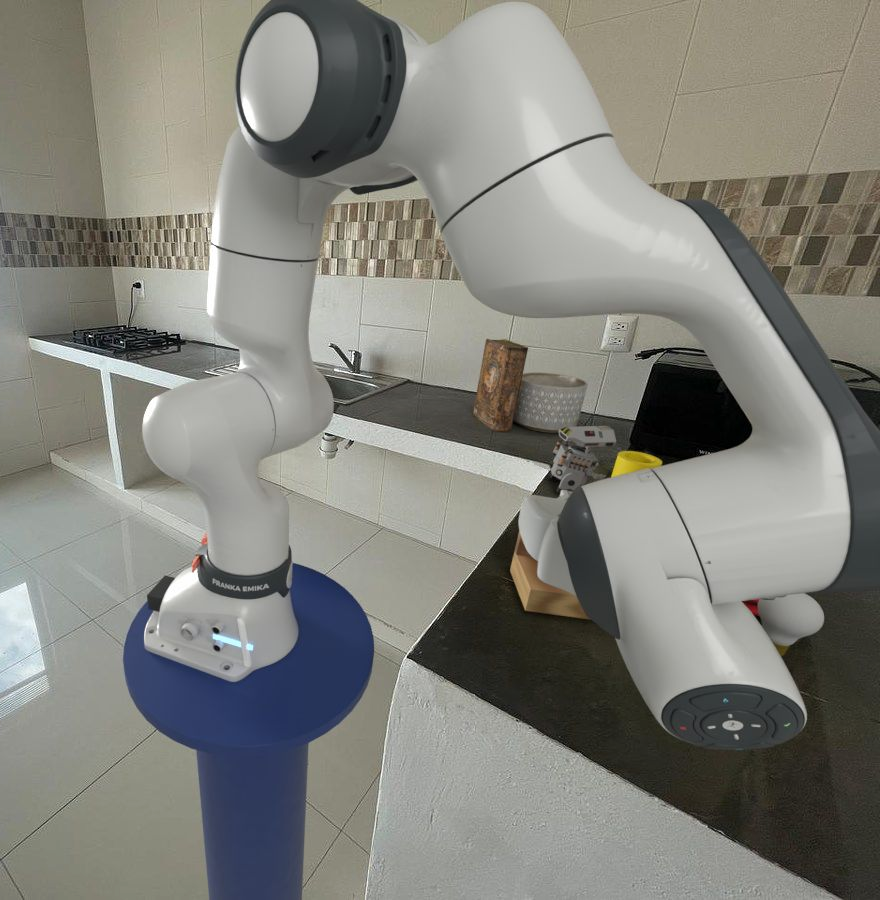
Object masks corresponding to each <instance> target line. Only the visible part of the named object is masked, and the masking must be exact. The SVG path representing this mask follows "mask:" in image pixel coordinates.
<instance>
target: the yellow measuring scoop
mask: <svg viewBox="0 0 880 900" xmlns="http://www.w3.org/2000/svg"><path fill="white" fill-rule="evenodd" d="M660 466H663V460H662V459H660V458H659V457H656V456H654V455H652V454H649V453H646V452H641V451H640V452H639V451H634V450H621V451H619V452H617V457H616V459H615V462H614V466H613V470H612V473H611V476H610V478H611V477H615V476H618V475H622V474H626V473H630V472H634V471H639V470H643V469H647V468H649V469H652V468H656V467H660Z"/></svg>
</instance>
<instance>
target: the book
mask: <svg viewBox="0 0 880 900" xmlns="http://www.w3.org/2000/svg"><path fill="white" fill-rule="evenodd" d="M528 352H529V347H528V346H525V345H523V344H520V343H517V342H515V341H512V340H509V339H506V338H502V339H490V338H486V339H485V343H484V349H483V354H482V360H481V367H480V372H479V378H478V383H477V384H478V385H477V389H476V395H475V401H474V405H473V406H474V407H473V416H474V417H475V418H477V420H479V421H480V422H481V423H483V424H484V425H485V426H487V427H488V428H489V429H491V430H492V431H493V432H497V433H511V432H512V428H513V425H514V420H513V419H514V415H515V410H516V405H517V400H518V395H519V390H520V385H521V380H522V376H523V373H524V371H525V366H526V360H527V355H528Z"/></svg>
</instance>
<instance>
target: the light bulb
mask: <svg viewBox="0 0 880 900" xmlns="http://www.w3.org/2000/svg"><path fill="white" fill-rule="evenodd" d="M758 613H759V616H758V617H760V620H761V626H762V628H763V629H764V631H765V632H766V633H767V635H768V636H769V638H770V640H771V641H772V643H773V644H774V646H775V647H776V649H777V651H778V652H779V654H780V656H781V657H784V656H785V654H786V652H787V651H788V650H789V648H790V647H791V645H793V644H794V643H796V642H797V641H798V640H799V639H802V638H804V637H808V636H811V635H814V634H815V633H817V632H819V631H820V630H821V628H822V627H823V625H824V622H825V615H824V611H823V608H822V607H821V605H820V604H819V603H818V601H816V599H814V598H813V597H812V596H810V595H809V594H807V593H800V594H792V595H787V596H785V597H776V598H775V599H774V600H763V599H759V602H758Z"/></svg>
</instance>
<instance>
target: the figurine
mask: <svg viewBox="0 0 880 900" xmlns="http://www.w3.org/2000/svg"><path fill="white" fill-rule="evenodd" d="M558 437H560V439H561V440H559V441H557V442H556V444H555V447H554V449H553V451H552V452H551V455H553V456H555V457H554V458H553V461H552V460H551V461H550V463H549V465H548V468H549V470H550V473H551V474H550V479H551V480H553V481H557V482H559V485H558V486H557V488H556V493H557V494H559V495H560V493H561V490H567V491H574V490H575V489H576V488H577V487H578V486H583V485H586V484H587V481H588V479H589V477H590V476H591V477H592V478H593V479H594V480H598V481H600V480H603V479H607V478H609V475H610V474H611V471H608V473H606V474H603V473H600V474H599V473H597V472H594V470H596V469H597V467H598V466H604V464H605V461H604V460H603V459H600V460H599V461H598V458H597V456H596V455H595V453H593V452H592V451H591V450H592V449H593V448H595V447H596V448H597V447H599V448H600V447H602V448H603V447H611V448H612V447H615V445H616V443H617V438H616V434H615V430H614V428H611V426H609V425H603V424H600V425H587V426H583V425H582V426H577V427H564V428H562V429H560V430H559V433H558ZM562 441H563V442H564V441H565V442H566V443H563V442H562ZM568 442H572V443H574V444H570V443H568Z"/></svg>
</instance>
